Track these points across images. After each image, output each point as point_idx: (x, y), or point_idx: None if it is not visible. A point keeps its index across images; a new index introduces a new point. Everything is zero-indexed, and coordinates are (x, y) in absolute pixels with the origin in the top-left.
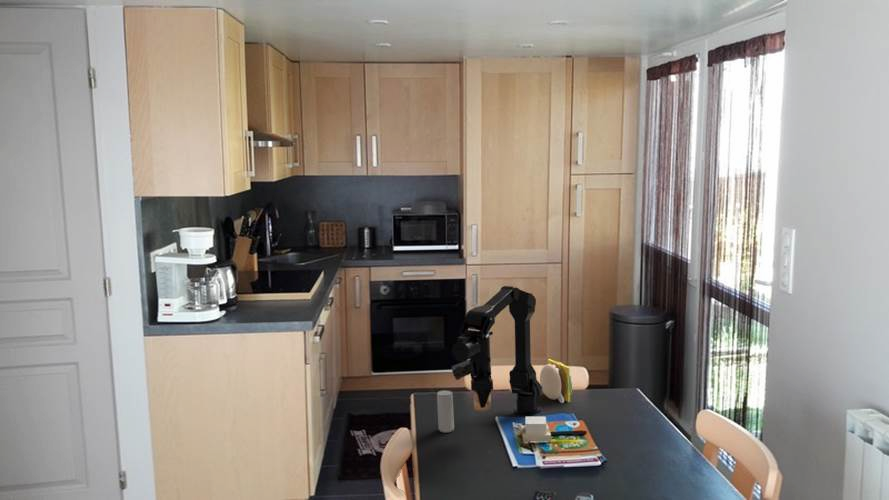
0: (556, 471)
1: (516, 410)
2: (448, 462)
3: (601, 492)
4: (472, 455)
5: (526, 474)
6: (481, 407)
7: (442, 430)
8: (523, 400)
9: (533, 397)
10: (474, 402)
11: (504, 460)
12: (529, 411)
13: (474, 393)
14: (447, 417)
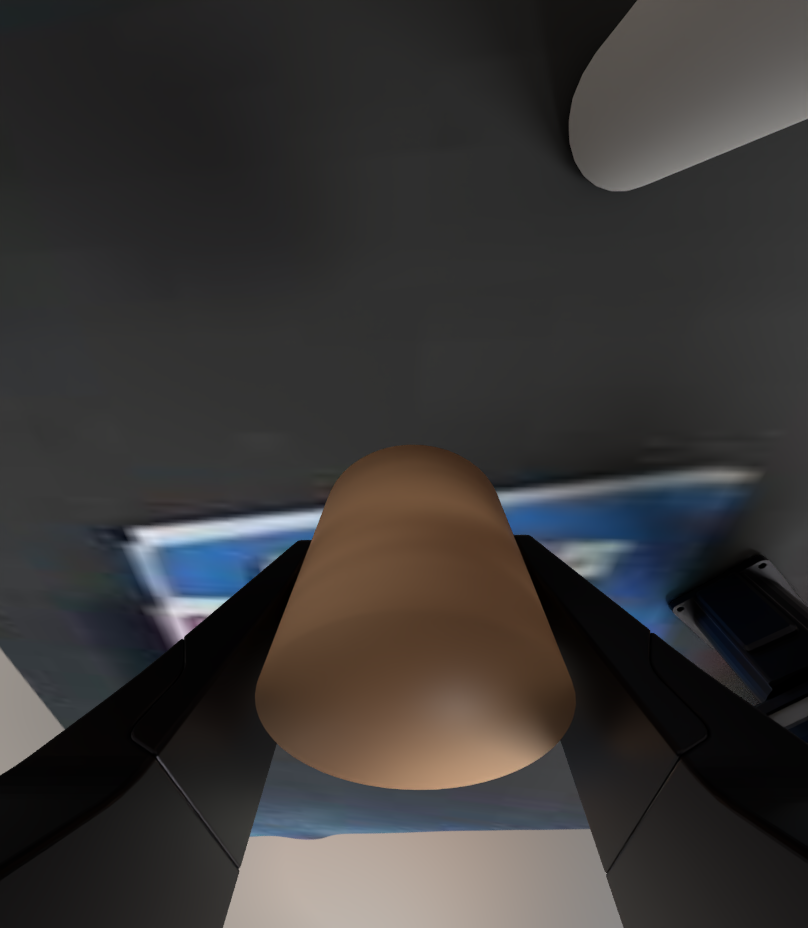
0: (137, 642)
1: (759, 569)
2: (46, 192)
3: (48, 708)
4: (193, 352)
5: (75, 567)
6: (299, 545)
7: (589, 66)
8: (756, 655)
9: (757, 699)
10: (359, 498)
11: (176, 501)
12: (700, 619)
13: (314, 620)
14: (635, 73)
